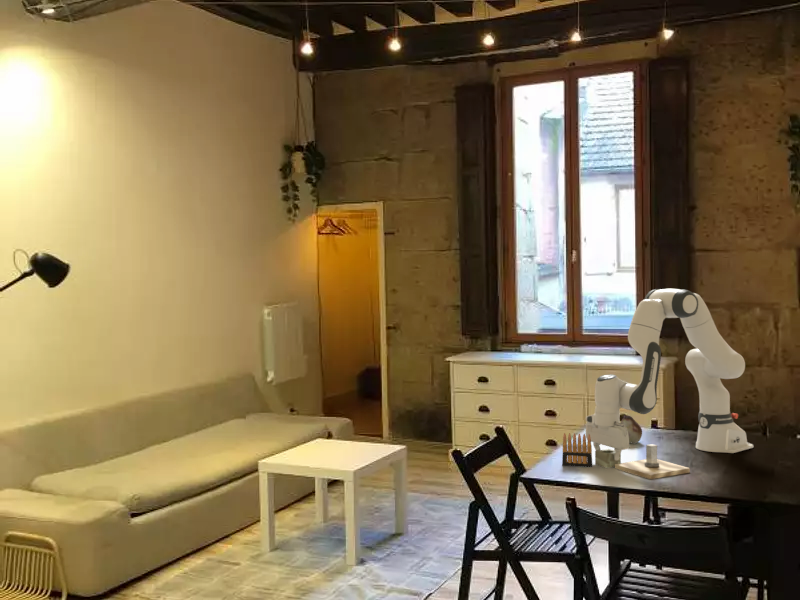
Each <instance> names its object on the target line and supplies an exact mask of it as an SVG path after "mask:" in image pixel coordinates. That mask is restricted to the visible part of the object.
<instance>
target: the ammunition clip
mask: <svg viewBox="0 0 800 600" xmlns="http://www.w3.org/2000/svg"><path fill="white" fill-rule="evenodd" d="M567 436H568V438H567ZM592 450H593V449H592V442H591V437H590V434H589V435H588V440H587V438H586V433H583V434H582V436H581V434H580V433H578V436H577V435H576V433H573V436H572V435H571V433H568V435H567V434H566V432H564V433H563V436H562V457H561V458H562V459H561V460H562V462H561V463H562V466H563V467H577V468H579V467H580V468H593V451H592Z"/></svg>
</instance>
